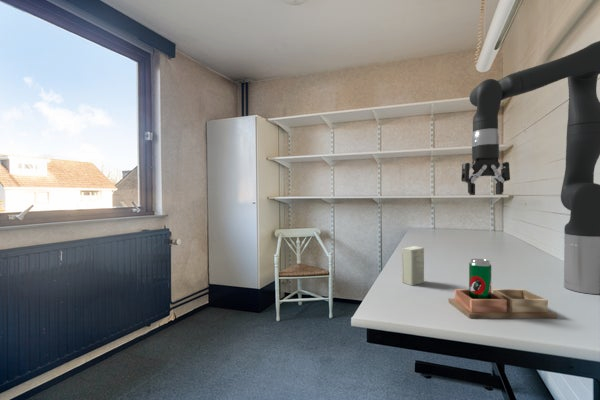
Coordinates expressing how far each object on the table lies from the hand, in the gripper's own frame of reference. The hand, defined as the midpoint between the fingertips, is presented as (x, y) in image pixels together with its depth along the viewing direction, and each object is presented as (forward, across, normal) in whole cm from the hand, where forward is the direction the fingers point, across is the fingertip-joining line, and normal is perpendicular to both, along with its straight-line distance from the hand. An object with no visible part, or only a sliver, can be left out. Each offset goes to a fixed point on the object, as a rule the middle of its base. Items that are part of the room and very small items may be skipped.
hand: (485, 194), depth 99 cm
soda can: (+29, +13, +20) cm, 37 cm away
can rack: (+30, +8, +20) cm, 37 cm away
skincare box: (+30, +22, -4) cm, 38 cm away
